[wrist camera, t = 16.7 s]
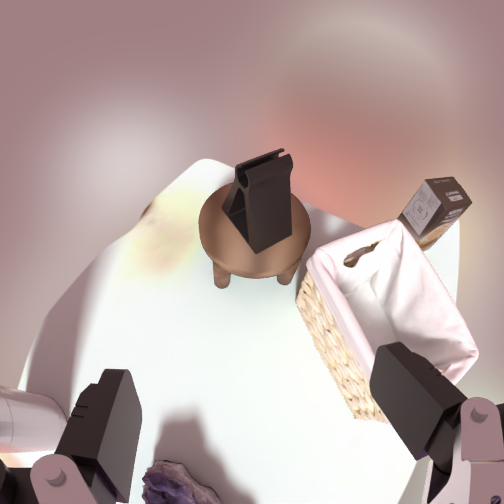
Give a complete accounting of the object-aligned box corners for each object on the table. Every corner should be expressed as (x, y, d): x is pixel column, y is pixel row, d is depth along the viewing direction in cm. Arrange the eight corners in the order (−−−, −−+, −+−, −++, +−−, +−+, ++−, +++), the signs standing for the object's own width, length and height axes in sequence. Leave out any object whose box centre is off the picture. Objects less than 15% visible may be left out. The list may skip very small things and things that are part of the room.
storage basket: (284, 295, 47) (306, 247, 34) (362, 262, 51) (400, 212, 38) (351, 429, 36) (403, 432, 24) (425, 376, 41) (484, 356, 28)
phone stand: (291, 236, 42) (312, 176, 31) (255, 255, 39) (267, 195, 29) (255, 193, 45) (264, 130, 35) (221, 208, 43) (221, 144, 33)
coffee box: (400, 261, 52) (445, 210, 38) (384, 233, 55) (423, 179, 41) (429, 249, 54) (473, 202, 40) (414, 224, 57) (453, 174, 43)
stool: (203, 300, 45) (198, 274, 37) (202, 215, 53) (199, 181, 45) (305, 294, 47) (320, 268, 39) (289, 213, 55) (299, 180, 47)
